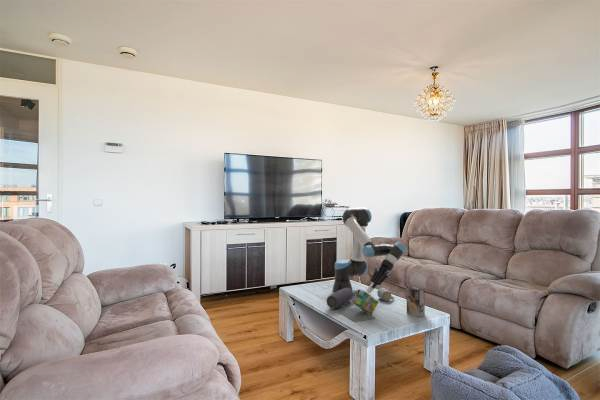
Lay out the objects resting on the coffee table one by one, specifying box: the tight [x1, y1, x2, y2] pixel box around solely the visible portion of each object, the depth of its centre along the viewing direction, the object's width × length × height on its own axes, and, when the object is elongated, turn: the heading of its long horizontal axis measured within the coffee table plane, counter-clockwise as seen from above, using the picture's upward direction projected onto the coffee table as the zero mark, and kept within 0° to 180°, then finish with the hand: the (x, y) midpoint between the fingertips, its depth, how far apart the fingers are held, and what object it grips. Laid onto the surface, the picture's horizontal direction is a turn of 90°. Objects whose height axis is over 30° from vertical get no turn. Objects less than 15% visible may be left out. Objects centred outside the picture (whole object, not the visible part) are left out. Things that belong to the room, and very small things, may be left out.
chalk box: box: [351, 289, 379, 316], centre depth 197 cm, size 9×9×15 cm
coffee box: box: [405, 286, 426, 318], centre depth 195 cm, size 9×6×16 cm
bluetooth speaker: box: [326, 288, 354, 309], centre depth 213 cm, size 23×9×10 cm, turn 145°
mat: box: [336, 307, 375, 323], centre depth 195 cm, size 20×14×1 cm
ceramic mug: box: [376, 287, 395, 302], centre depth 225 cm, size 11×8×8 cm
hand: (368, 291), depth 199 cm, fingers closed
